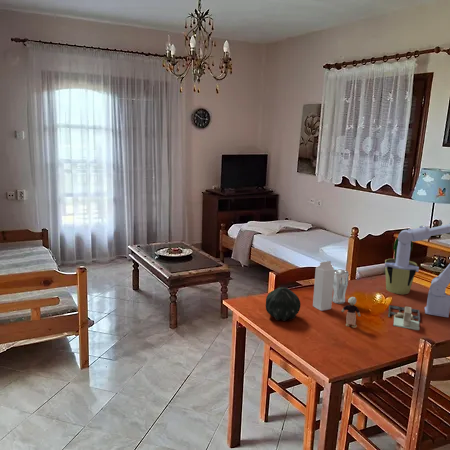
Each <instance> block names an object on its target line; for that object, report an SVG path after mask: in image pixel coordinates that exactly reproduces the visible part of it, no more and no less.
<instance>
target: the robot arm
mask: <svg viewBox="0 0 450 450" xmlns="http://www.w3.org/2000/svg"><path fill="white" fill-rule="evenodd" d="M449 233H450V223H447V224H446V223H445V224H442V225H439V226H434V227H431V228H430V227H428V226H424V225H420V226H419V227H416V228H408V229H403V230H401V231H400V232H399V233H398V236H397V238H398V246H397V254H396V263H386V262H385V261H384V268H387V271H388V274H389V277H390V283H392V272H393V268H396V269H403V270H410V272H409V279H408V286H409V285H410V282H411V280H412V278H413V277H414V278H415V275H416V273H419V271H420V267H419V266H418V265H417V266H412V265H409V261H410V258H411V252H410V250H411V241H412V243H415V242H420V241H423V240H429V239H430V238H431V236H437V235H441V234H443V235H444V234H449ZM414 278H413V279H414ZM430 282H431V283H430V285H429V290H428V293H427V300H426V306H424V314H426V315H430V316H436V317H444V318H449V315H450V295H447V293H446V289H447V287H448V286H449V284H450V263H449V264H448V265H447V266H446V268H444V270H442V272H441V273H440V274H439V275H438V276H436V277H434V278H432V280H431V281H430Z"/></svg>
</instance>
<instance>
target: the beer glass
mask: <svg viewBox="0 0 450 450" xmlns="http://www.w3.org/2000/svg"><path fill="white" fill-rule="evenodd" d="M348 284H349V271H348V270H346V269H341V268H340V269H334V282H333V293H332V303H335V304H338V305H341V304H342V305H344V304H345V303H346V292H347V288H348Z"/></svg>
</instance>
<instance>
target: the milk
mask: <svg viewBox="0 0 450 450" xmlns="http://www.w3.org/2000/svg"><path fill="white" fill-rule="evenodd" d="M334 270H335V268H334V266H333V265H332V261H331V260H329V261H328V260H327V261H322V262H321V261H320V263H319V265H318V266H316V267H315V271H314V272H315V273H314V285H313V297H312V307H314V308H315V309H317V310H319V311H321V312H322V311H328V310H331V309H332V305H333V304H332V303H333V301H332V298H333V294H334V291H333V282H334Z"/></svg>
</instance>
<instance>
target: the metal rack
mask: <svg viewBox="0 0 450 450" xmlns="http://www.w3.org/2000/svg"><path fill="white" fill-rule="evenodd" d="M391 309H392V310H393V309H394V310H398V312H399V313H401V311H404V310H405V306H397V305H393V304H392V305H391V304H389V305H388V314H387V315H388V316H387V317H388V318H390V317H391V316H392V315H393V316H394V315H395V314H397V313H398V312H395V311H391ZM411 313H417V315H413V314H412V316H413V317H412V318H414V320H415V319H416V320H417V321H419V323H420V322H421V313H420V309H415V308H411Z"/></svg>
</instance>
